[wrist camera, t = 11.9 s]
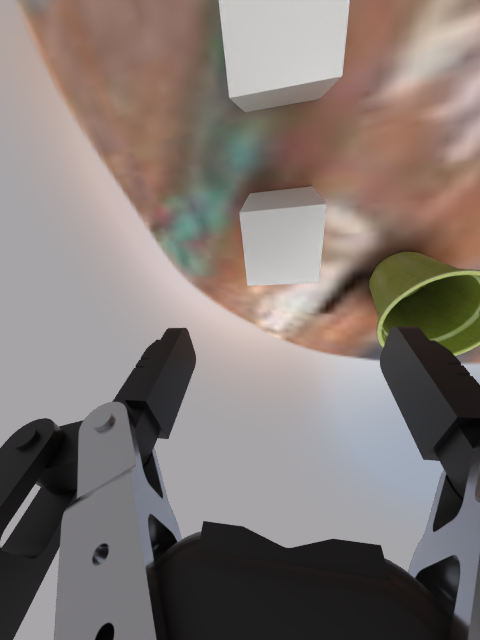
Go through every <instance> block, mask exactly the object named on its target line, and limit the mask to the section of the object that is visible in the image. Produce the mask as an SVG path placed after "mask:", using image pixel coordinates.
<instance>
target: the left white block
mask: <svg viewBox="0 0 480 640" xmlns="http://www.w3.org/2000/svg"><path fill="white" fill-rule="evenodd" d="M349 3H350V0H219V8H220V17H221V26H222V35H223V44H224V53H225V63H226V72H227V81H228V90H229V98H230V99H231V100H232V101H233V102H234V103H235V104H236V105H237V106H238V107H240V108H241V109H242V110H243V111H244V112H250V111H256V110H262V109H267V108H273V107H278V106H284V105H289V104H295V103H300V102H306V101H312V100H317V99H320V98H321V97H322V96H323V95H324V94H325V93H326V92H327V91H328V90H329V89H330V88H331V87H332V86H333V85H334V84H335V83H336V82H337V81H338V80H339V79H340V78H341V77H342V73H343V63H344V53H345V43H346V33H347V23H348V13H349Z"/></svg>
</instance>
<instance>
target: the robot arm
mask: <svg viewBox="0 0 480 640" xmlns="http://www.w3.org/2000/svg"><path fill="white" fill-rule="evenodd" d="M195 364H196V355H195V351H194V348H193V345H192V341H191V338H190V336H189V332H188V330H187V329H186V328H168V329H167V330H166V332H165V333H164V335H163V337H162V338H161V340H156V341H155V342H154V343H152V344H151V345H150V346H149V347H148V348H147V349H146V351H145V352H144V354H143V355H142V357H141V360H139V361H138V363H137V364H136V368H134V369H133V371H132V372H131V374H130V376H129V377H128V379H127V380H126V382H125V383H124V385H123V386H122V388H121V389H120V391H119V392H118V394H117V396H116V397H115V399H114V400H113V401H112V402H110V403H106V404H104V405H101V406H99V407H98V408H96V409H95V410H93V411H92V412H91V413H90V414H89V415H88V416H87V417H86V418H85V419H84V420H83V421H79V422H75V423H71V424H67V425H63V426H60V427H58V426H57V425H56V424H55V423H54V422H53V421H52V420H50V419H46V418H44V419H38V420H35V421H32V422H30V423H28V424H26V425H25V426H23V427H22V428H20V429H19V430H17V431H16V432H15V433H14V434H13V435H12V436H11V437H10V438H9V439H8V440H7V441H6V442H5V444H3V446H2V447H1V448H0V539H1V536H2V534H3V532H4V530H5V528H6V527H7V525H8V523H9V522H10V521H11V519H12V517H13V516H14V515H15V513H16V512H17V510H18V509H19V507H20V506H21V504H22V503H23V501H24V500H25V498H26V497H27V495H28V494H29V492H30V491H31V489H32V488H33V486H34V485H35V484H37V485H39V486H40V487H41V488H40V490H39V491H38V493H37V495H36V496H35V498H34V499H33V501H32V502H31V504H30V506H29V507H28V509H27V510H26V512H25V513H24V515H23V516H22V518H21V520H20V521H19V523H18V524H17V526H16V527H15V529H14V530H13V532H12V534H11V535H10V537H9V538H8V540H7V541H6V543H5V544H4V545H3V546H2V548H0V640H13V639H14V637H15V634H16V632H17V631H18V629H19V626H20V625H21V622H22V621H23V619H24V617H25V615H26V613H27V611H28V609H29V607H30V605H31V603H32V601H33V599H34V597H35V595H36V593H37V591H38V589H39V587H40V585H41V583H42V581H43V579H44V577H45V575H46V573H47V571H48V569H49V567H50V565H51V563H52V560H53V559H54V557H55V554H56V553H57V551H58V549H59V547H60V554H59V569H58V584H57V599H56V615H55V631H54V640H480V385H479V383H478V382H477V381H476V380H475V379H474V378H473V376H470V373H469V372H468V371H467V370H466V368H465V367H464V366H461V363H460V361H459V360H458V359H457V358H456V357H455V356H454V354H453V353H452V352H451V351H450V350H449V349H447V348H446V347H444V346H443V345H441V344H440V343H438V342H437V341H435V340H429V339H428V338H427V336H426V335H425V334H424V333H423V331H422V330H421V329H420V328H419V327H417V326H394V327H391V329H390V330H389V333H388V336H387V339H386V342H385V344H384V347H383V350H382V353H381V356H380V366H381V370H382V373H383V375H384V377H385V379H386V381H387V383H388V386H389V388H390V390H391V392H392V394H393V396H394V398H395V400H396V402H397V405H398V407H399V409H400V411H401V413H402V415H403V417H404V419H405V422H406V424H407V426H408V428H409V430H410V432H411V434H412V436H413V438H414V440H415V443H416V445H417V447H418V449H419V451H420V453H421V455H422V457H423V459H424V460H436V461H440V462H441V464H442V466H443V468H444V471H443V472H442V473H441V476H440V480H439V483H438V487H437V491H436V494H435V498H434V501H433V505H432V509H431V513H430V516H429V520H428V523H427V527H426V530H425V533H424V535H423V538H422V539H421V541H420V542H419V544H418V546H417V548H416V550H415V552H414V554H413V557H412V560H411V563H410V567H409V570H408V572H406V571H405V570H404V569H402V568H401V567H399V566H398V565H396V564H394V563H392V562H391V561H389V560H387V559H385V558H384V556H383V552H382V548H381V545H374V544H367V543H360V542H352V541H345V540H337V539H330V540H326V541H321V542H316V543H312V544H308V545H303V546H298V547H294V548H285V547H282V546H280V545H278V544H276V543H274V542H272V541H270V540H268V539H266V538H265V537H263V536H260V535H258V534H257V533H254V532H253V531H250V530H249V529H246V528H245V527H242V526H235V525H227V524H220V523H213V522H206V521H204V522H203V527H202V531H201V532H197V533H195V534H193V535H190V536H188V537H186V538H184V539H182V538H181V534H180V531H179V527H178V524H177V521H176V518H175V515H174V513H173V511H172V509H171V506H170V504H169V501H168V498H167V495H166V491H165V487H164V483H163V479H162V475H161V471H160V467H159V463H158V459H157V456H156V452H155V449H154V445H155V443H156V440H157V438H163V439H168V438H169V435H170V432H171V430H172V427H173V425H174V422H175V419H176V417H177V413H178V411H179V408H180V406H181V403H182V400H183V398H184V395H185V392H186V390H187V387H188V384H189V381H190V379H191V376H192V373H193V371H194V368H195Z"/></svg>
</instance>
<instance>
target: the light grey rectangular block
mask: <svg viewBox="0 0 480 640" xmlns="http://www.w3.org/2000/svg"><path fill="white" fill-rule="evenodd" d="M239 214H240V223H241V232H242V240H243V249H244V258H245V267H246V276H247V285H248V286H257V285H280V284H303V283H319V277H320V266H321V256H322V246H323V235H324V225H325V215H326V203H325V201H324V200H323V199H322V198H321V196H320V195H319V194H318V193H317V191H316V190H315V189H314V188H313V186H310V187H301V188H292V189H283V190H275V191H266V192H257V193H250V194H249V196H248V197H247V199H246V201H245V203H244V205H243V207H242V209H241V211H240V212H239Z"/></svg>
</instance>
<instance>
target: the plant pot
mask: <svg viewBox="0 0 480 640" xmlns="http://www.w3.org/2000/svg"><path fill="white" fill-rule="evenodd" d="M369 287H370V291H371V294H372V297H373V300H374V303H375V306H376V310H377V313H378V323H377V337H378V340H379V342H380V344H381V346H382V347H384V344H385V342H386V339H387V336H388V333H389V330H390V329H391V327H394V326H417V327H419V328H420V329H421V330H422V331H423V333H424V334H425V335H426V336H427V338H428V339H429V340H435V341H437V342H438V343H440V344H441V345H443V346H444V347H446V348H447V349H449V350H450V351H451V352H452V353H453V354H454V356H456V355H459V354H461V353H464V352H467V351H469V350H471V349H473V348H474V347H476V346H478V345H480V270H469V269H458V268H455V267H452V266H450V265H447V264H445V263H442V262H440V261H437V260H435V259H433V258H430V257H428V256H426V255H423V254H421V253H417V252H400V253H397V254H394V255H391V256H389V257H387V258H386V259H384V260H383V261H382V262H380V263H379V264H378V265H377V266H376V268H375V270H374V272H373V274H372V276H371V278H370V280H369Z"/></svg>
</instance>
